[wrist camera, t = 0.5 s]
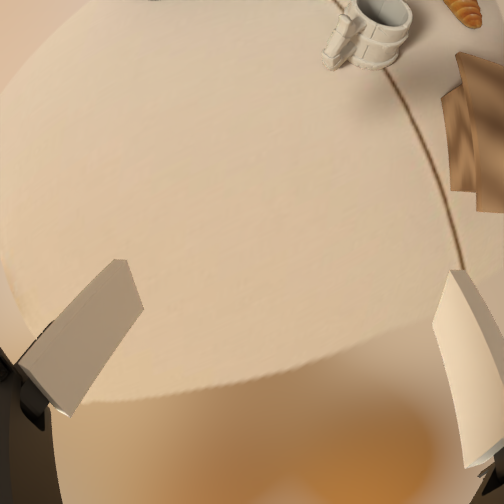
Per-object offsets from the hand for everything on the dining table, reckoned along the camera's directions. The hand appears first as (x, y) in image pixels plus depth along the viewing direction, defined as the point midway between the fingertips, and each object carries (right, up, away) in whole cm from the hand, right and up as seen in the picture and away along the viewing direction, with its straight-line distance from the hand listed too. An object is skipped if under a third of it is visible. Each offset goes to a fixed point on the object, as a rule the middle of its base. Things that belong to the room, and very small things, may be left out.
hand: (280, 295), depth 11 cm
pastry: (+31, +40, +11) cm, 52 cm away
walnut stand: (+28, +15, +16) cm, 36 cm away
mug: (+12, +26, +17) cm, 33 cm away
